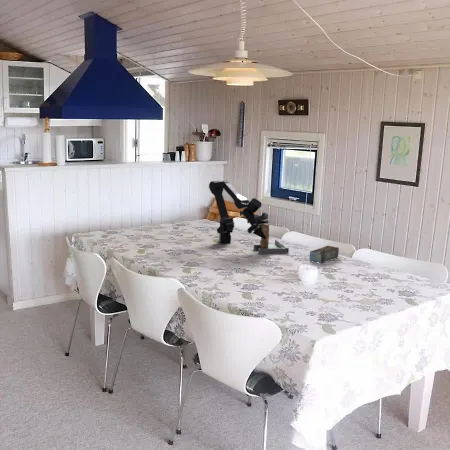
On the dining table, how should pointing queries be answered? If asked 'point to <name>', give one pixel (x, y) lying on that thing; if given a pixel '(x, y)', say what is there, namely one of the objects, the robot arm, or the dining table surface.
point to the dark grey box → (324, 254)
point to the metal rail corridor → (281, 248)
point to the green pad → (272, 246)
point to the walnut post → (266, 232)
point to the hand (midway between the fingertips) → (267, 237)
